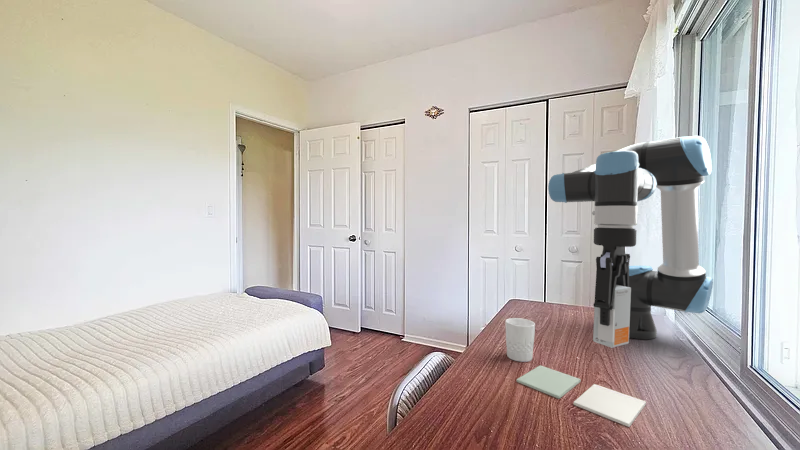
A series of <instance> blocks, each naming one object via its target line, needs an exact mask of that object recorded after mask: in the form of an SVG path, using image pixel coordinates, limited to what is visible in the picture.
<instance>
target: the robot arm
mask: <svg viewBox="0 0 800 450" xmlns="http://www.w3.org/2000/svg"><path fill="white" fill-rule="evenodd" d="M712 164H713V163H712V156H711V151H710V147H709V145H708V143H707V140H706V139H705V138H704V137H703V136H701V135H693V136H679V137H673V138H668V139H667V138H666V139H662V140H653V141H646V142H639V143H636V144H631V145H629V146H626V147H623V148H621V149H617V150H615V151H607V152H604V153H601V154H599V155H598V156H597V157H596V159H595V163H593V164H591V165H588V166H586V167H582V168H581V169H578V170H575V171H572V172H567V173H566V172H562V173H559V174H557V173H556V174H554V175H552V176H551V177H550V179H549V181H548V185H547V187H548V194H549V198H550V200H552V201H553V202H555V203H564V204H567V203H580V202H582V203H584V202H587V203H588V202H594V210H593V211H592V212H591V214H592V216H594V225H595V226H597V227H594V229H593V244H594V245H597V246H602V253H601V254H600V256H596V259H595V265H596V274H595V275H596V276H595V287H594V302H593V307H598V308H599V310H598V339H601V340H605V341H609V342H614V320H615V309H613V303H614V294H615V288H616V285H620V286H626V287H631V303H630V327H629V339H630V338H631V339H636V340H653V339H656V338H657V336H658V335H657V334H658V333H657V332H658V331H657V327H656V324H655V322H654V319H653V315H652V307H654V308H655V307H656V308H661V309H667V310H673V311H679V312H684V313H690V314H691V313H692V314H698V315H699V314H702V313H705V312H706V310H707V308H708V307H709V303H710V299H711V296H712V292H713V291H712V290H713V285H714V279H713V277H710V276H707V275H706V274H707V273H706V270H705V269H706V268H703V267H702V266H701V265H700V263H699V260H700V259H699V212H698V211H699V209H698V208H699V207H698V206H699V205H698V204H699V202H698V199H699V198H698V195H699V194H698V189H699V187H700V186H701V185H702V184H704V183H705V177H708V176H710V175H711V174H712V170H713V169H712ZM656 189H658V190H659V191H660V211H661V214H660V215H661V237H662V239H661V240H662V264H661V265H659V266H658V267H657V271H656V270H653V269H654V268H653V267H652V266H650V265H630V260H631V255H630V253H626V248H631V247H635V246H636V245H637V230H636V228H634V227H635V226H636V225H638V202H641V201H644V200H647V199H649V198H650V197H651V196H653V195H654V193H655V191H656Z"/></svg>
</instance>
